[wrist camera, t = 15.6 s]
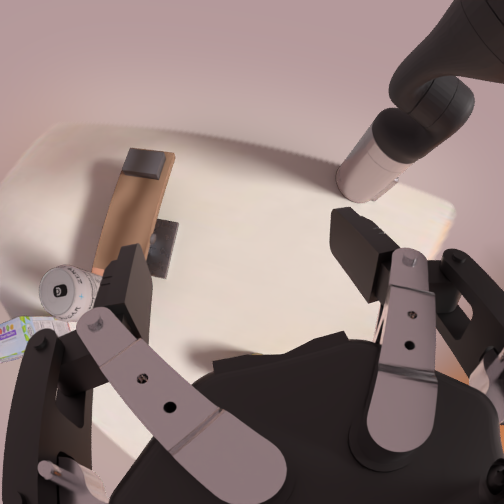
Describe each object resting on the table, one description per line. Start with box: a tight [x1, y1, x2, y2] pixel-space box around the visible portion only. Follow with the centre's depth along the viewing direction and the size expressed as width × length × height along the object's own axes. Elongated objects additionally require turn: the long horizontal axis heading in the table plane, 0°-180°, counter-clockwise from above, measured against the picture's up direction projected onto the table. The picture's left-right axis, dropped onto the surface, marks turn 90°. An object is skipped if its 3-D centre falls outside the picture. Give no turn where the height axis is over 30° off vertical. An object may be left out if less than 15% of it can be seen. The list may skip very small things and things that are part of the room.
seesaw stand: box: [146, 219, 179, 279], centre depth 47 cm, size 12×10×6 cm
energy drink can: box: [39, 265, 102, 322], centre depth 31 cm, size 6×6×15 cm
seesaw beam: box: [91, 148, 175, 276], centre depth 42 cm, size 9×28×4 cm, turn 170°
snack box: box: [0, 316, 70, 363], centre depth 37 cm, size 21×6×15 cm, turn 111°
